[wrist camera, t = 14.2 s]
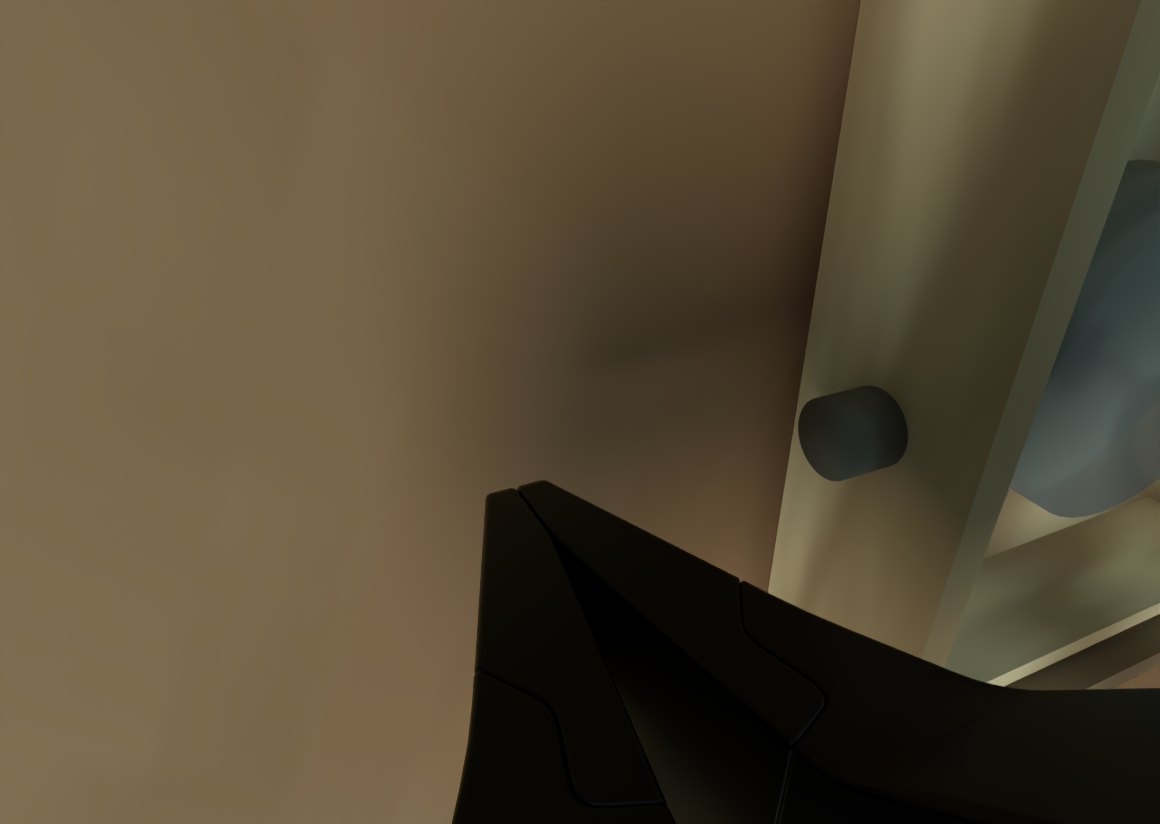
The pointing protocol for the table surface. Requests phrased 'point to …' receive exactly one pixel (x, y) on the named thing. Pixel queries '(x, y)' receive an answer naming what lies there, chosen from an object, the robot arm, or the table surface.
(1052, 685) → the housing
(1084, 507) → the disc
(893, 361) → the tray
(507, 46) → the table surface
